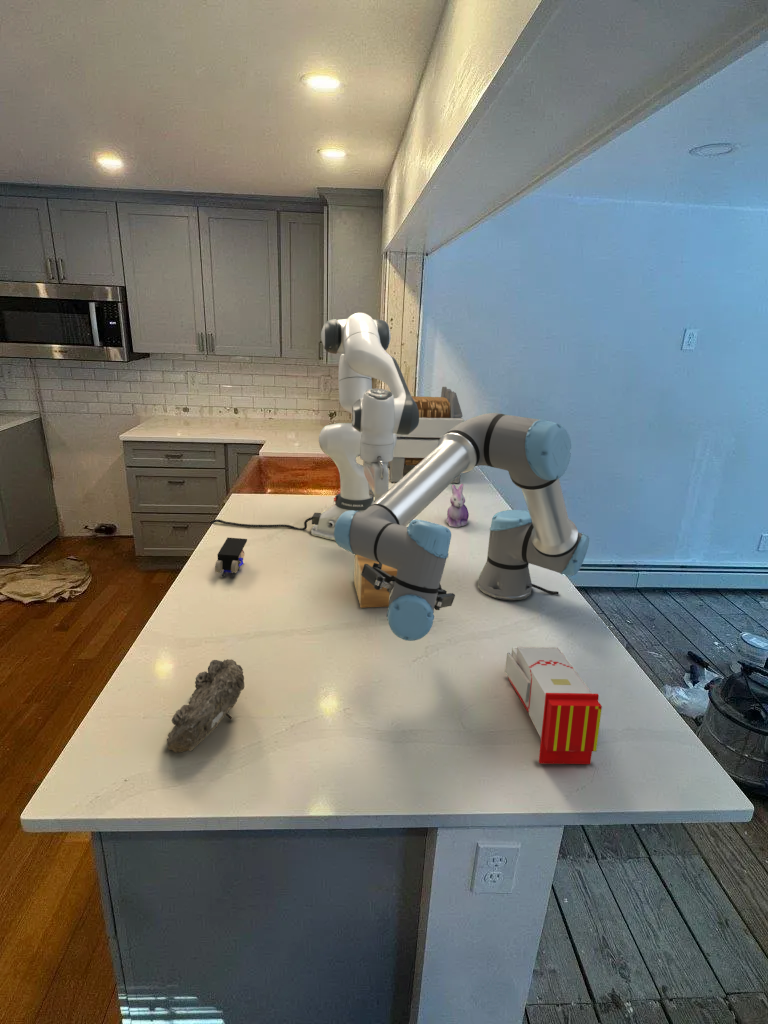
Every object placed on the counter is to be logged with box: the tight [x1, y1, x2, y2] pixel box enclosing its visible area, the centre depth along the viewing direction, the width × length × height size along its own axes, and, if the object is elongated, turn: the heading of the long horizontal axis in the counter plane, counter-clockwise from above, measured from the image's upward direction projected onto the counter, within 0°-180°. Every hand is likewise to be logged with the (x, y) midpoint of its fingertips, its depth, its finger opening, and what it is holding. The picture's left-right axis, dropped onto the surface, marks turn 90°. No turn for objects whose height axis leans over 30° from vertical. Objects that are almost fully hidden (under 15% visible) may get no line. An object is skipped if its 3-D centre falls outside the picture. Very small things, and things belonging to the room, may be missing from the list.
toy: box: [504, 646, 603, 765], centre depth 112 cm, size 12×13×30 cm
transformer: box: [387, 386, 466, 484], centre depth 268 cm, size 34×33×41 cm
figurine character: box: [214, 537, 248, 578], centre depth 166 cm, size 7×8×15 cm
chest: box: [353, 554, 397, 609], centre depth 156 cm, size 15×10×9 cm, turn 10°
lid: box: [356, 555, 397, 575], centre depth 153 cm, size 16×10×9 cm, turn 10°
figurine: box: [446, 483, 470, 528], centre depth 210 cm, size 9×10×15 cm
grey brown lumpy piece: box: [166, 658, 245, 754], centre depth 106 cm, size 22×10×15 cm
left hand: (374, 501), depth 154 cm, fingers open, 8 cm apart
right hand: (407, 577), depth 127 cm, fingers open, 13 cm apart
